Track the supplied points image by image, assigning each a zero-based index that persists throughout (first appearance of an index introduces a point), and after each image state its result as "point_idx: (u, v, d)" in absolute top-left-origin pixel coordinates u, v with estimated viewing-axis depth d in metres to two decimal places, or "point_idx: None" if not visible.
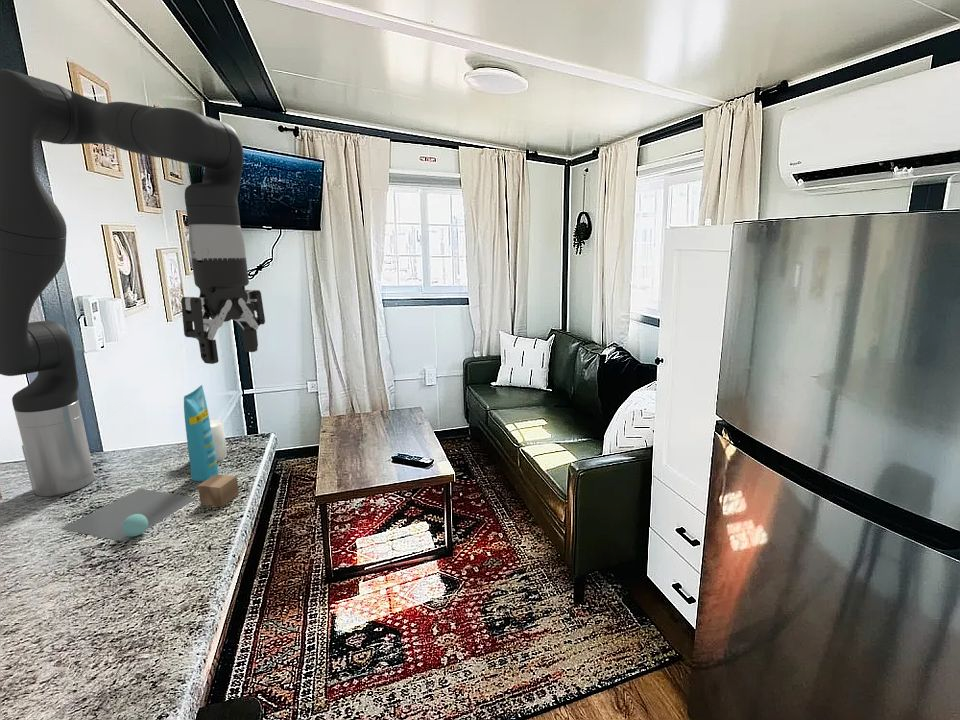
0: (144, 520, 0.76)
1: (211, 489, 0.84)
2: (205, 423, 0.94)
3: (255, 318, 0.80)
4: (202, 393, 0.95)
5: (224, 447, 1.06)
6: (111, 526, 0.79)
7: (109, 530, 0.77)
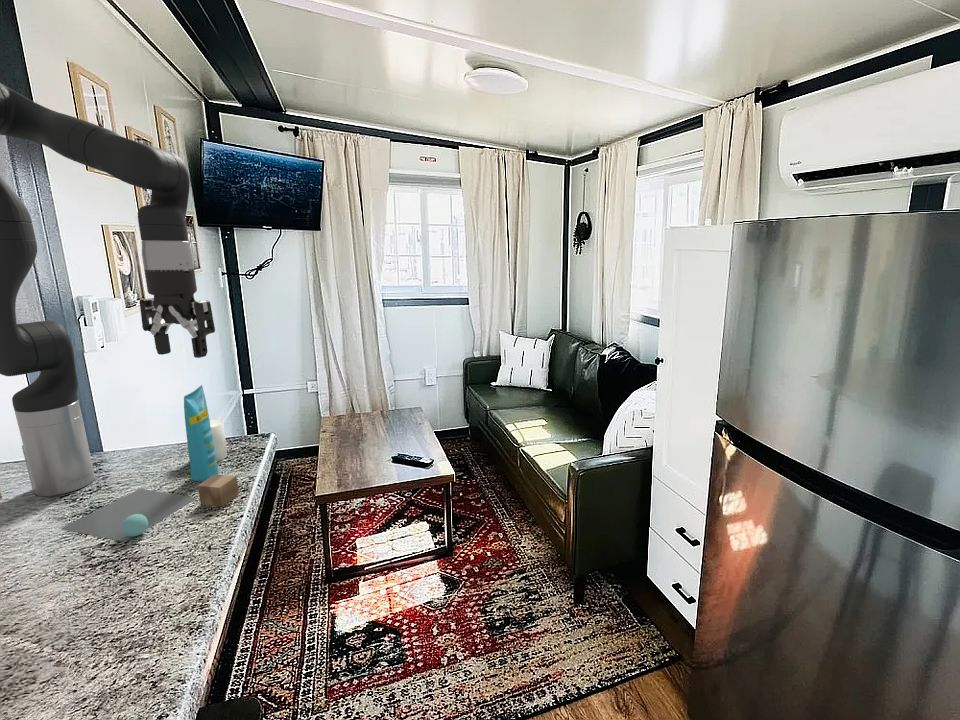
0: (144, 520, 0.76)
1: (211, 489, 0.84)
2: (205, 423, 0.94)
3: (153, 324, 0.87)
4: (202, 393, 0.95)
5: (224, 447, 1.06)
6: (111, 526, 0.79)
7: (109, 530, 0.77)
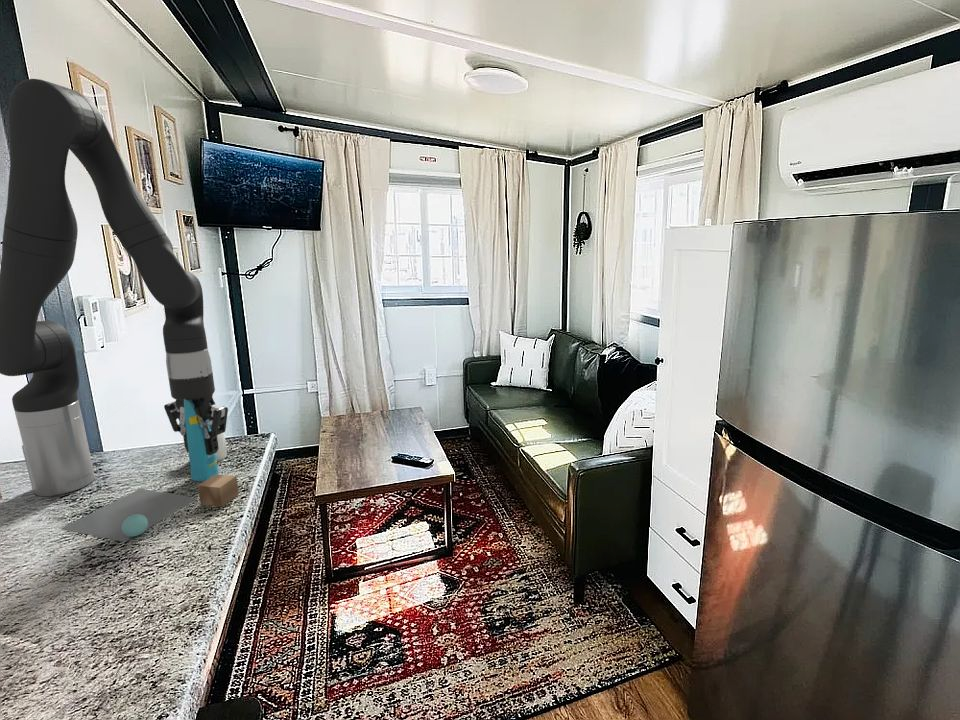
0: (144, 520, 0.76)
1: (211, 489, 0.84)
2: None
3: None
4: None
5: (224, 446, 1.06)
6: (111, 526, 0.79)
7: (109, 530, 0.77)
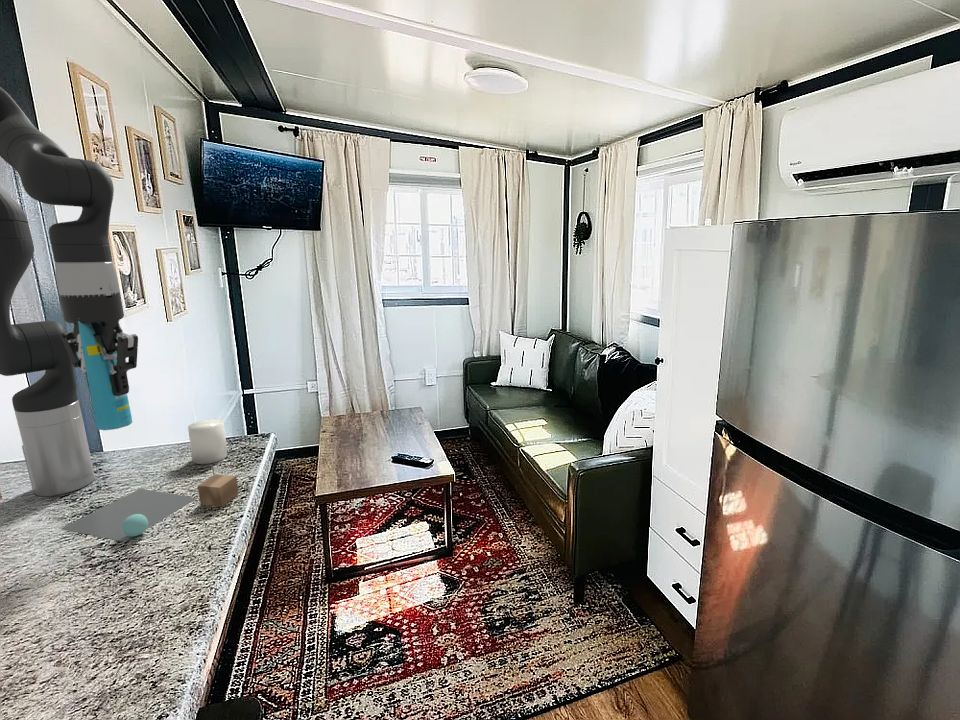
0: (144, 520, 0.76)
1: (211, 489, 0.84)
2: None
3: None
4: None
5: (225, 446, 1.06)
6: (111, 526, 0.79)
7: (109, 530, 0.77)
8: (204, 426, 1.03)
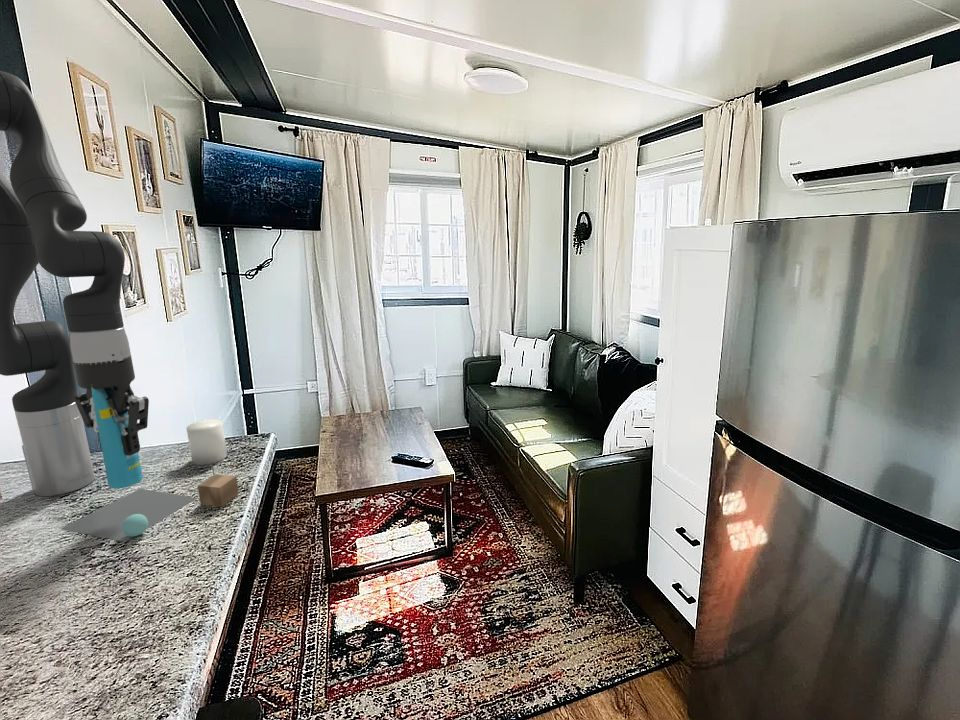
0: (144, 520, 0.76)
1: (211, 489, 0.84)
2: None
3: None
4: None
5: (225, 446, 1.06)
6: (111, 526, 0.79)
7: (109, 530, 0.77)
8: (203, 427, 1.03)
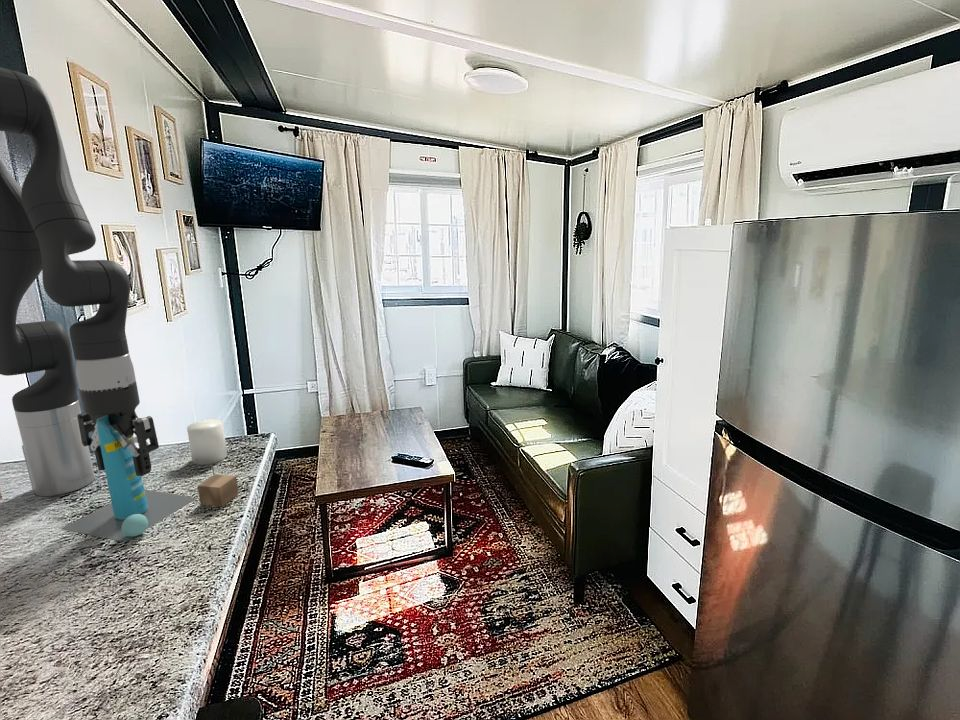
0: (144, 520, 0.76)
1: (211, 489, 0.84)
2: (128, 449, 0.80)
3: None
4: None
5: (225, 445, 1.06)
6: (111, 526, 0.79)
7: (109, 530, 0.77)
8: (204, 427, 1.03)
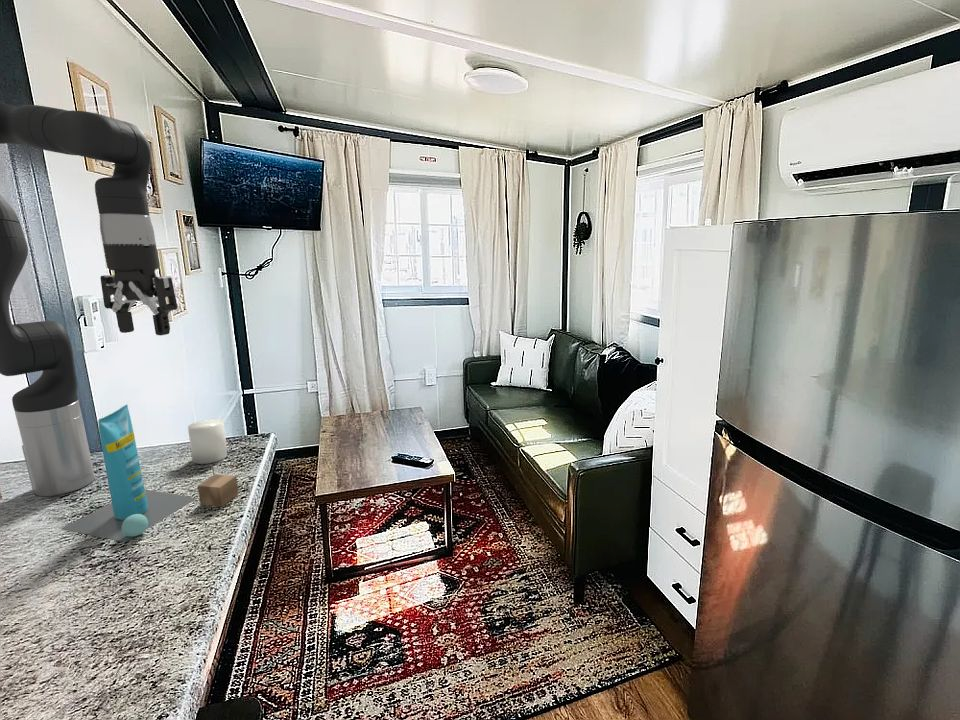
0: (144, 520, 0.76)
1: (211, 489, 0.84)
2: (129, 450, 0.80)
3: None
4: (126, 414, 0.81)
5: None
6: (111, 526, 0.79)
7: (109, 530, 0.77)
8: (205, 425, 1.03)
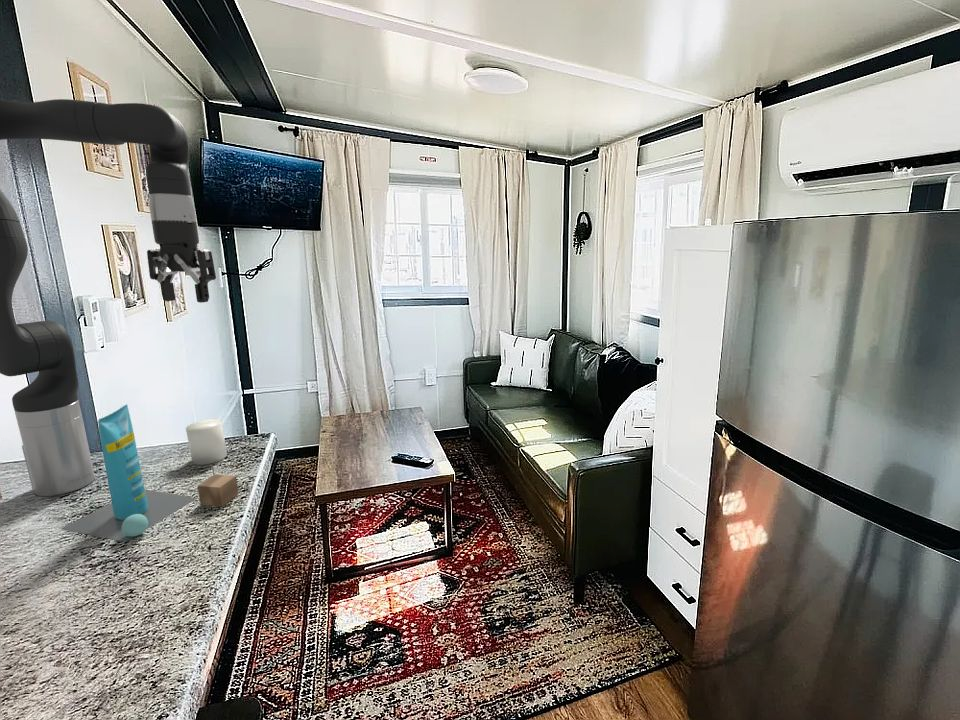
0: (144, 520, 0.76)
1: (211, 489, 0.84)
2: (129, 450, 0.80)
3: None
4: (126, 414, 0.81)
5: (225, 444, 1.07)
6: (111, 526, 0.79)
7: (109, 530, 0.77)
8: (203, 427, 1.03)
